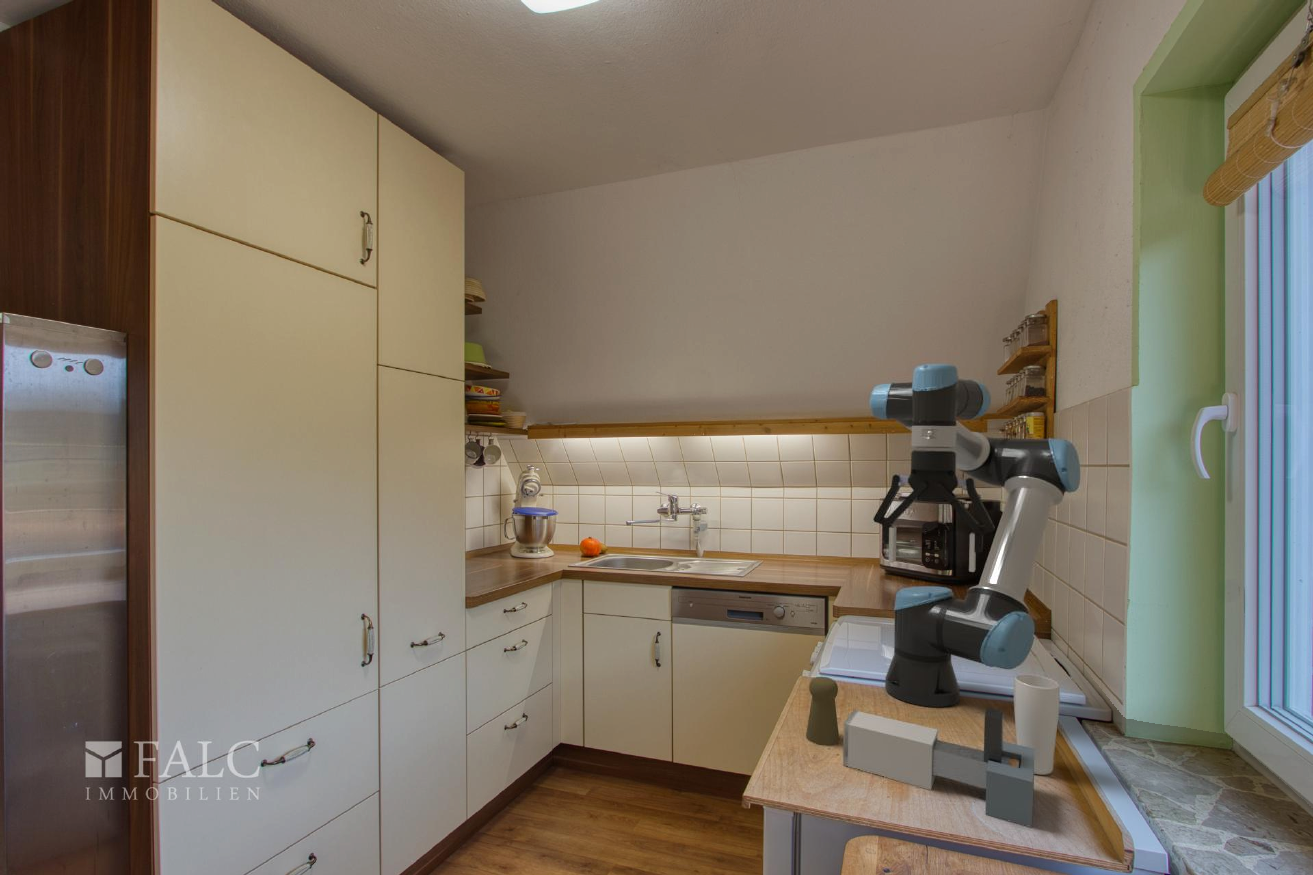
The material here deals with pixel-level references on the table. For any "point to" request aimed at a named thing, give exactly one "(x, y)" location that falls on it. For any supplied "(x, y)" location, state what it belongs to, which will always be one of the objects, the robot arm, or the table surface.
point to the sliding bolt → (972, 754)
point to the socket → (1011, 786)
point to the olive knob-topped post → (823, 712)
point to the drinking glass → (1037, 717)
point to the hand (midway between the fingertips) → (931, 566)
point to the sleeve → (889, 748)
